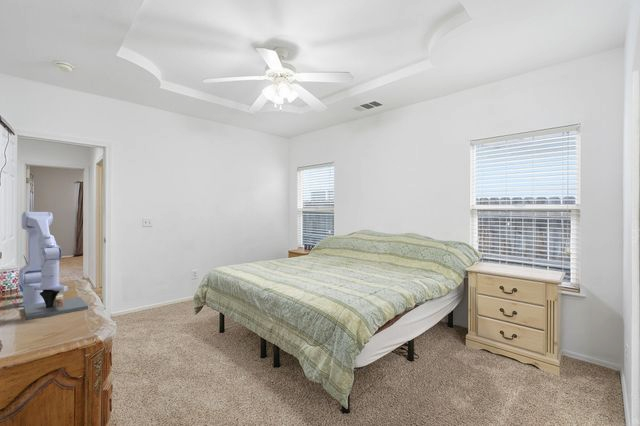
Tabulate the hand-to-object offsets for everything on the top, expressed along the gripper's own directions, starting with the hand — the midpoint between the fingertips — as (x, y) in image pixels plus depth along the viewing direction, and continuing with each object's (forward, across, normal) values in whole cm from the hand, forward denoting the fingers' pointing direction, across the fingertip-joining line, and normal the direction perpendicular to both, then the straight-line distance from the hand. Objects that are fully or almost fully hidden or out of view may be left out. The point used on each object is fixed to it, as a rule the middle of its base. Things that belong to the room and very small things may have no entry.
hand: (49, 307), depth 129 cm
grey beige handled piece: (+1, +1, -4) cm, 5 cm away
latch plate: (+3, +4, -7) cm, 8 cm away
